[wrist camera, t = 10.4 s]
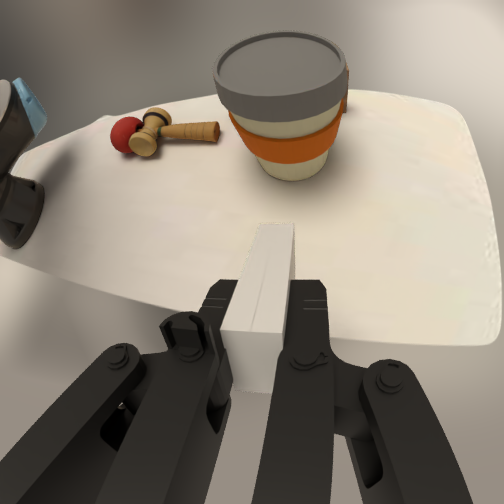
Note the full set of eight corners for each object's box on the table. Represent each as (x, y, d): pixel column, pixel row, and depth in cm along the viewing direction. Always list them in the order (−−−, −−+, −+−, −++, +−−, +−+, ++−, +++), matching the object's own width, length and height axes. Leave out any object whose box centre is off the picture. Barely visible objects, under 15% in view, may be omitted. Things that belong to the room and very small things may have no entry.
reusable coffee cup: (328, 205, 31) (335, 111, 17) (230, 181, 34) (184, 94, 20) (348, 129, 33) (355, 37, 19) (263, 113, 37) (241, 28, 23)
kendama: (226, 121, 40) (128, 123, 41) (219, 97, 33) (112, 105, 35) (217, 164, 39) (116, 162, 41) (207, 145, 33) (96, 147, 34)
